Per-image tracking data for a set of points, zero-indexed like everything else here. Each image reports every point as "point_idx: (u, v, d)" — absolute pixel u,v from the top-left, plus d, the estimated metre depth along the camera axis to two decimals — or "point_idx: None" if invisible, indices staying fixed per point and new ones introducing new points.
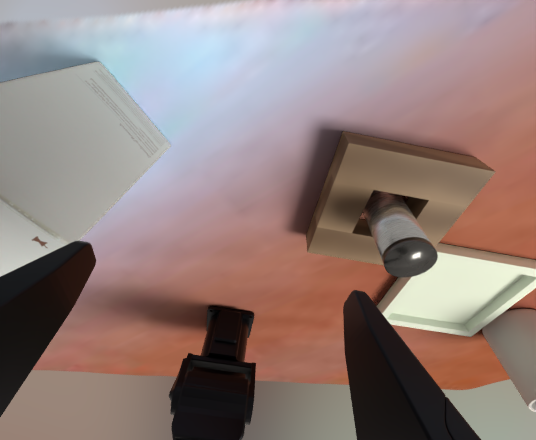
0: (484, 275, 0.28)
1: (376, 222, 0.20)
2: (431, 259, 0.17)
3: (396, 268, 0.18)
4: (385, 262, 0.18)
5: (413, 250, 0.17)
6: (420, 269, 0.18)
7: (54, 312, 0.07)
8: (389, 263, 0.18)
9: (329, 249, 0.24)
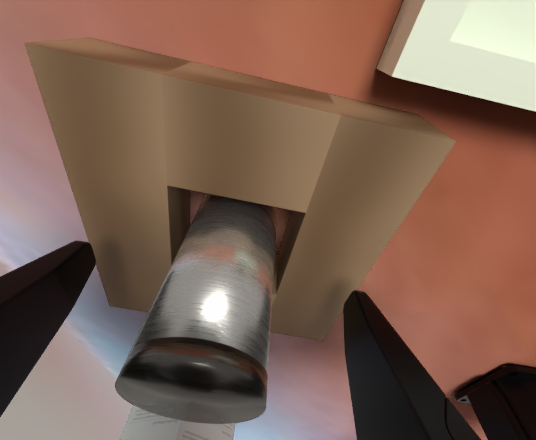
0: None
1: None
2: (168, 376, 0.05)
3: (228, 413, 0.06)
4: (208, 423, 0.07)
5: (149, 399, 0.06)
6: (221, 388, 0.05)
7: (54, 312, 0.07)
8: (209, 419, 0.07)
9: (317, 318, 0.12)
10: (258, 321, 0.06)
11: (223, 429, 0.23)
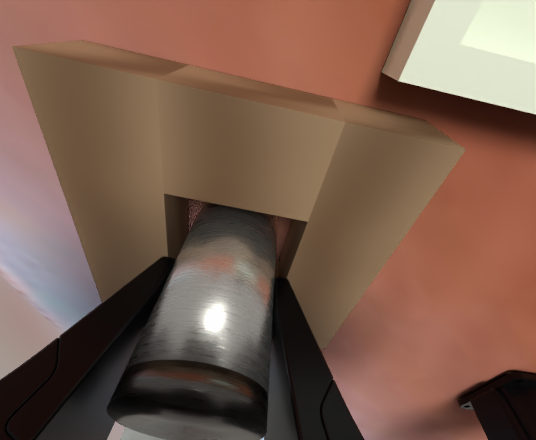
0: None
1: None
2: (162, 402, 0.05)
3: (227, 436, 0.06)
4: None
5: (143, 422, 0.06)
6: (219, 413, 0.05)
7: None
8: None
9: (319, 327, 0.12)
10: (259, 338, 0.06)
11: None
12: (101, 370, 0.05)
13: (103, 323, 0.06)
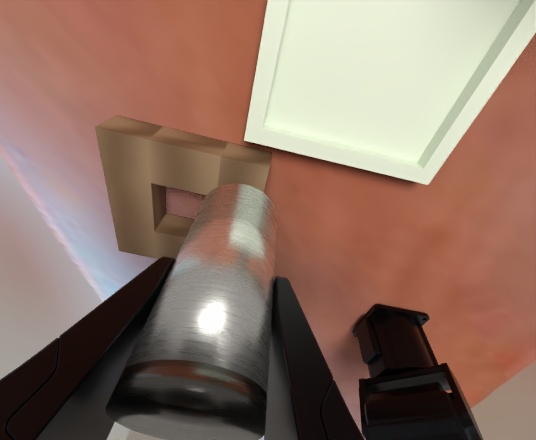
0: None
1: None
2: (160, 402, 0.05)
3: (225, 436, 0.06)
4: None
5: (142, 422, 0.06)
6: (217, 413, 0.05)
7: None
8: None
9: None
10: (257, 339, 0.06)
11: None
12: (101, 370, 0.05)
13: (103, 323, 0.06)
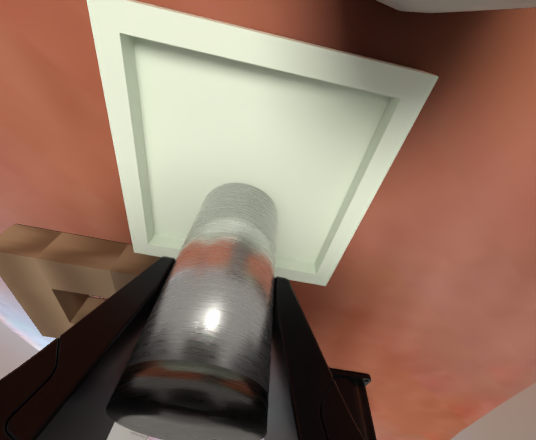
0: (181, 135, 0.13)
1: None
2: (161, 402, 0.05)
3: (227, 437, 0.06)
4: None
5: (142, 423, 0.06)
6: (219, 414, 0.05)
7: None
8: None
9: None
10: (259, 338, 0.06)
11: None
12: (101, 370, 0.05)
13: (103, 323, 0.06)
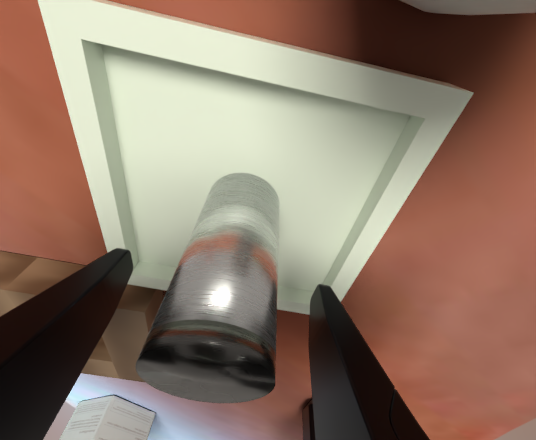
0: (164, 156, 0.11)
1: None
2: (186, 354, 0.06)
3: (239, 391, 0.07)
4: (220, 402, 0.07)
5: (166, 379, 0.06)
6: (234, 365, 0.06)
7: (99, 319, 0.07)
8: (221, 398, 0.07)
9: None
10: (266, 306, 0.07)
11: (136, 436, 0.32)
12: (28, 359, 0.05)
13: (36, 312, 0.06)
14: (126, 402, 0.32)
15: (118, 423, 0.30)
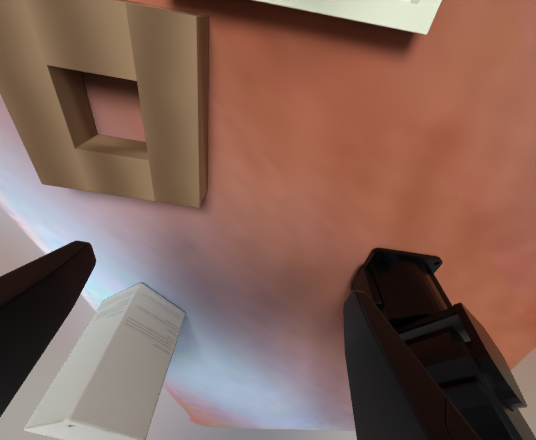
0: None
1: None
2: None
3: None
4: None
5: None
6: None
7: (54, 312, 0.07)
8: None
9: (185, 183, 0.17)
10: None
11: (167, 327, 0.29)
12: None
13: None
14: (155, 293, 0.29)
15: (148, 309, 0.28)
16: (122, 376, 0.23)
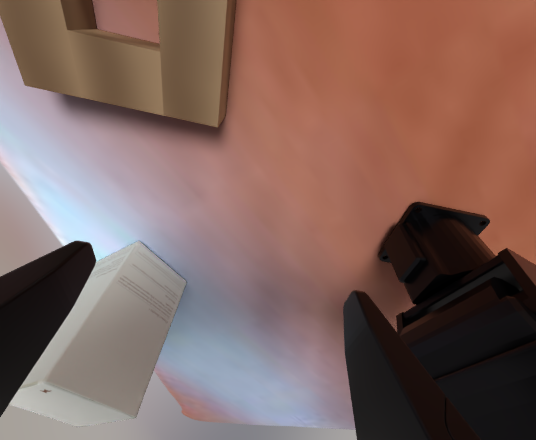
0: None
1: None
2: None
3: None
4: None
5: None
6: None
7: (54, 312, 0.07)
8: None
9: (204, 88, 0.14)
10: None
11: (166, 294, 0.25)
12: None
13: None
14: (153, 254, 0.26)
15: (146, 271, 0.24)
16: (112, 340, 0.19)
